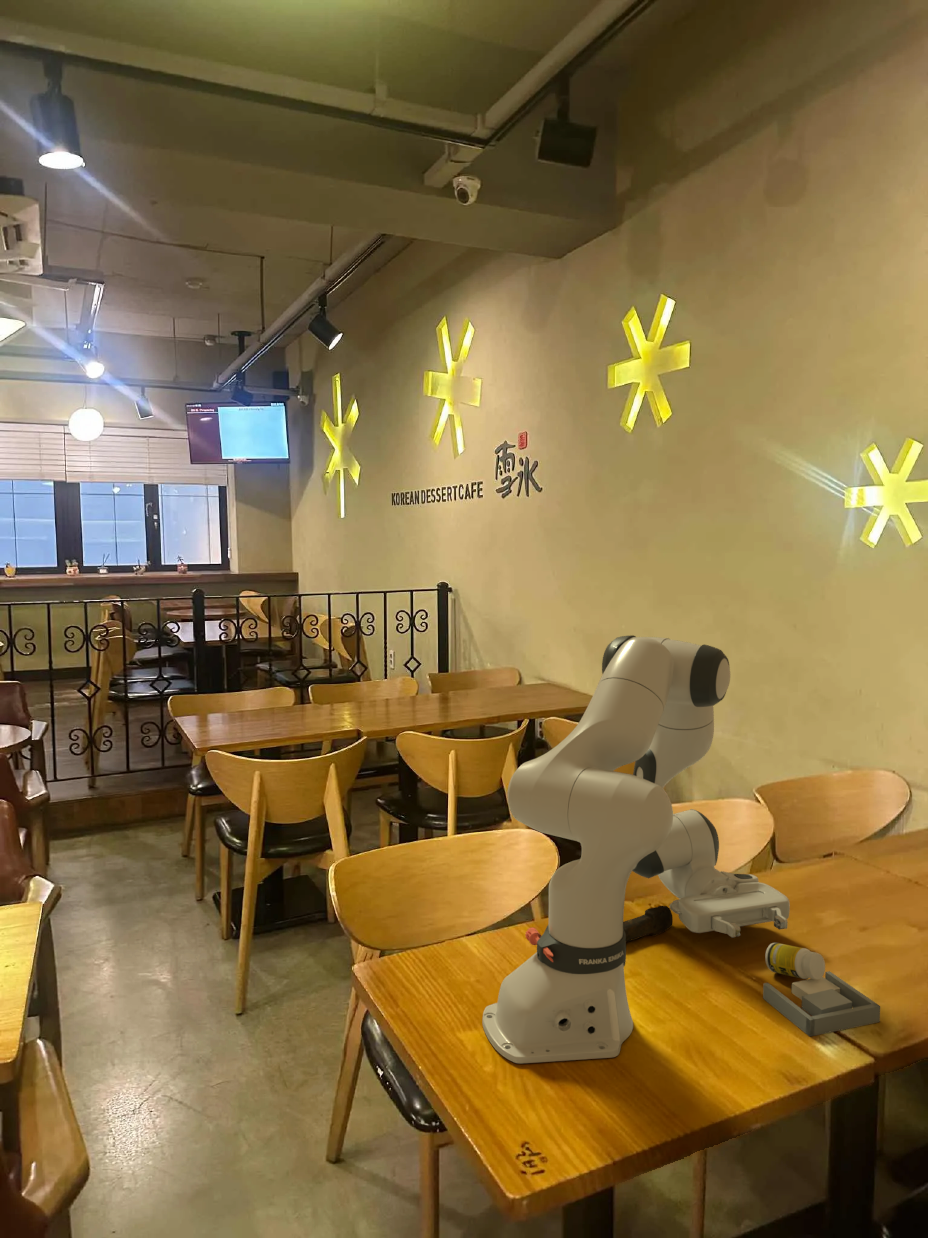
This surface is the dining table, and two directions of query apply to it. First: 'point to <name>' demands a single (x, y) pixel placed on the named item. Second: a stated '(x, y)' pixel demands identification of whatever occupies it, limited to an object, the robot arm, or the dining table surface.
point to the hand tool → (648, 923)
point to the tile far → (812, 987)
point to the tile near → (825, 1002)
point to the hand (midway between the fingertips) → (760, 929)
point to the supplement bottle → (794, 961)
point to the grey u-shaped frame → (827, 1022)
